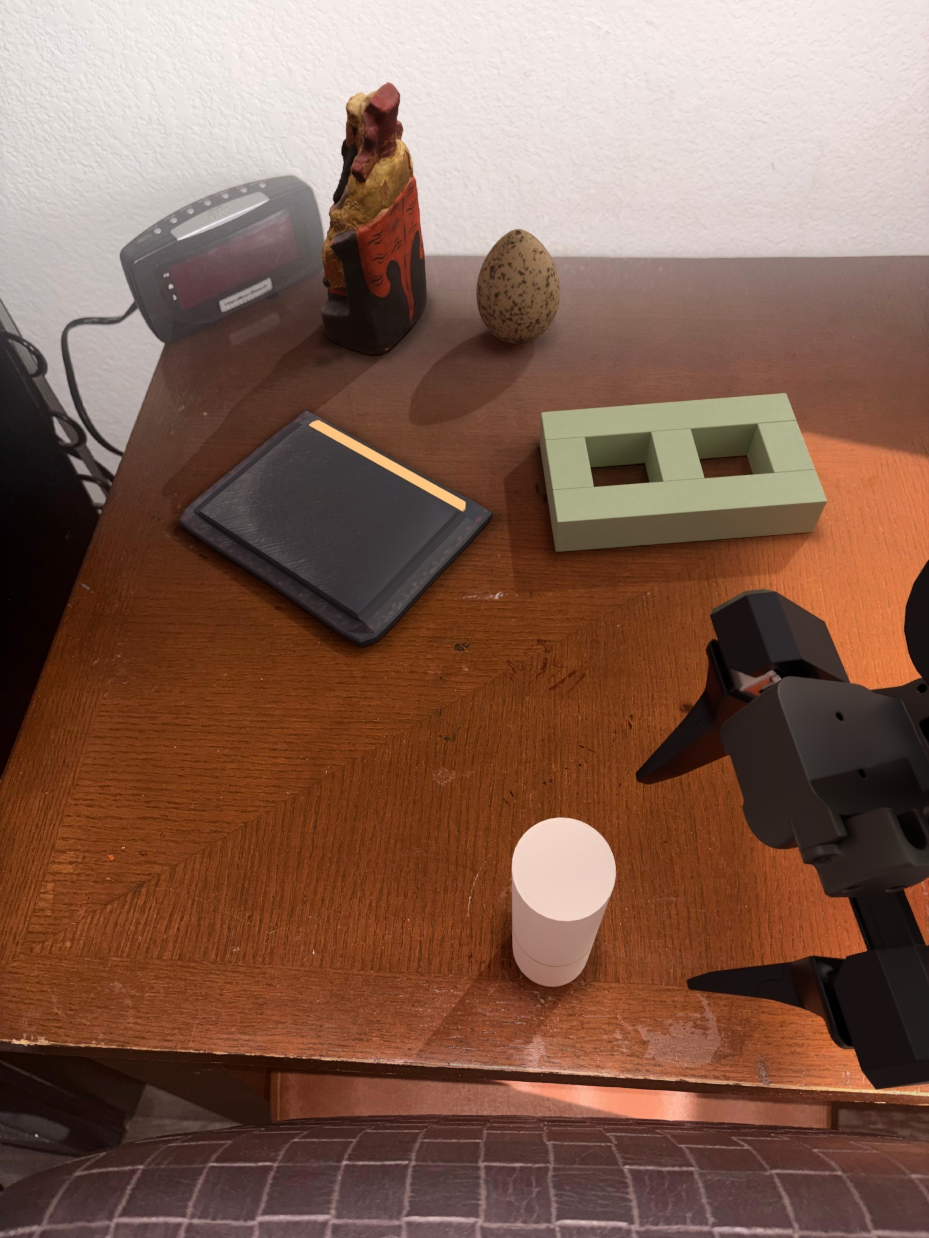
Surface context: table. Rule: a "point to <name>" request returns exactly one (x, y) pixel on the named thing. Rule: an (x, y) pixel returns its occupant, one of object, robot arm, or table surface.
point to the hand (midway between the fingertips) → (664, 875)
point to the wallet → (335, 526)
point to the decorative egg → (518, 288)
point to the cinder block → (678, 473)
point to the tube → (558, 898)
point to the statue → (374, 232)
